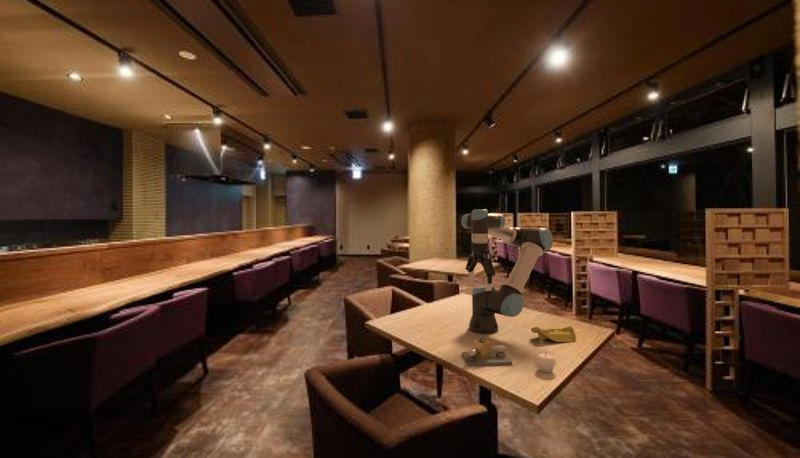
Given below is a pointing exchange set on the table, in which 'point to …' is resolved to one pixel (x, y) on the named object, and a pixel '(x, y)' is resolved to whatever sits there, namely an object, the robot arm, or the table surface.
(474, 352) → the shaft
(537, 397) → the table surface
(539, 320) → the table surface
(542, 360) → the plain white apple
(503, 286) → the robot arm
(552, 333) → the plastic component
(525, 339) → the table surface
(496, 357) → the bolted mounting plate
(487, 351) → the orange rectangular block
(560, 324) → the table surface
